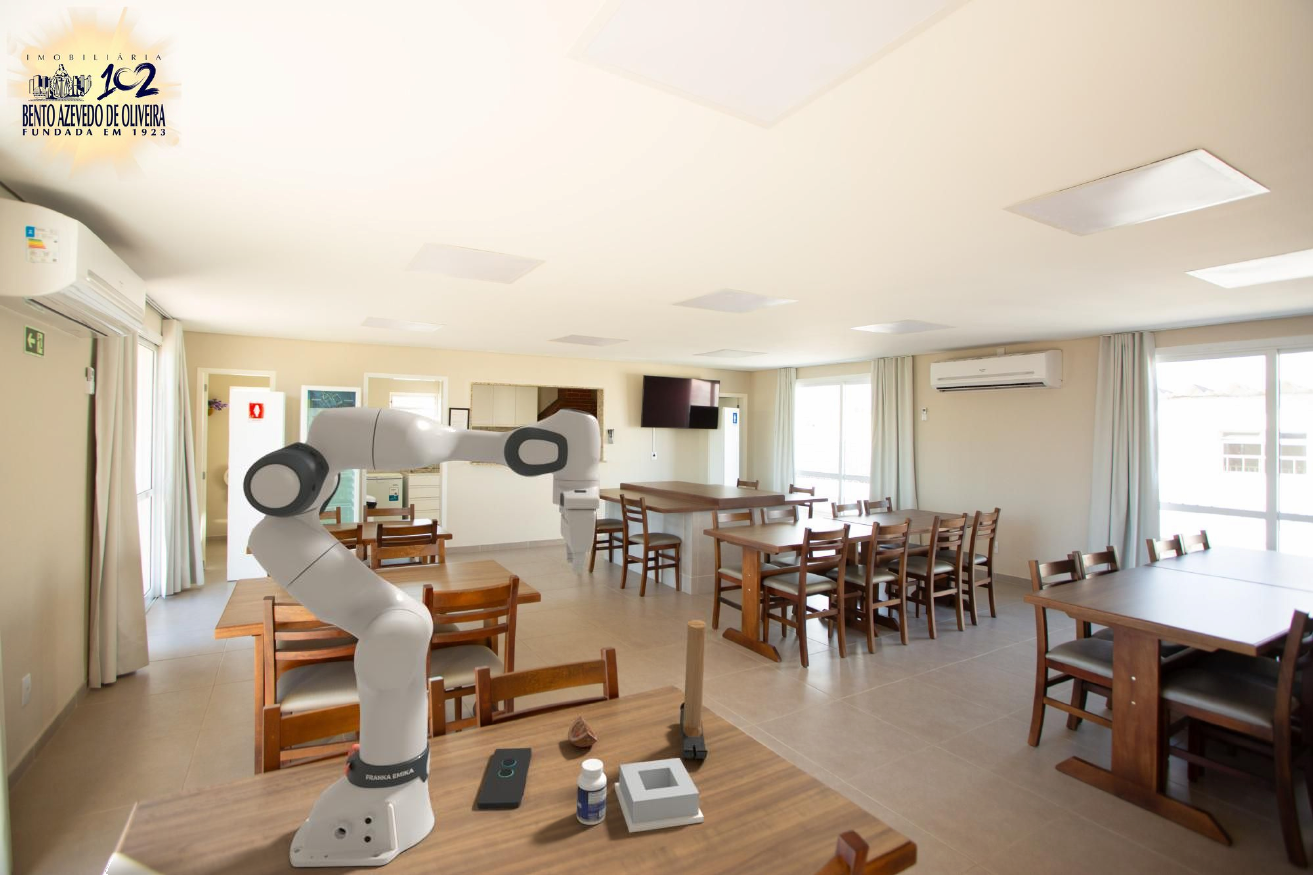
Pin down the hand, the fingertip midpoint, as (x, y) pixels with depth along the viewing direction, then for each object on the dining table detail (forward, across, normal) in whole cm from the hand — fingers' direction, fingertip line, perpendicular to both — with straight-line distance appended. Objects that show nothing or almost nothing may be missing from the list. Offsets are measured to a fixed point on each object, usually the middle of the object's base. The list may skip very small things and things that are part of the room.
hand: (574, 567), depth 114 cm
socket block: (+46, +3, +17) cm, 49 cm away
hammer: (+46, -18, +31) cm, 58 cm away
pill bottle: (+46, +4, +4) cm, 46 cm away
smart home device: (+46, -12, -11) cm, 49 cm away
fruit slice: (+46, -22, +6) cm, 51 cm away
